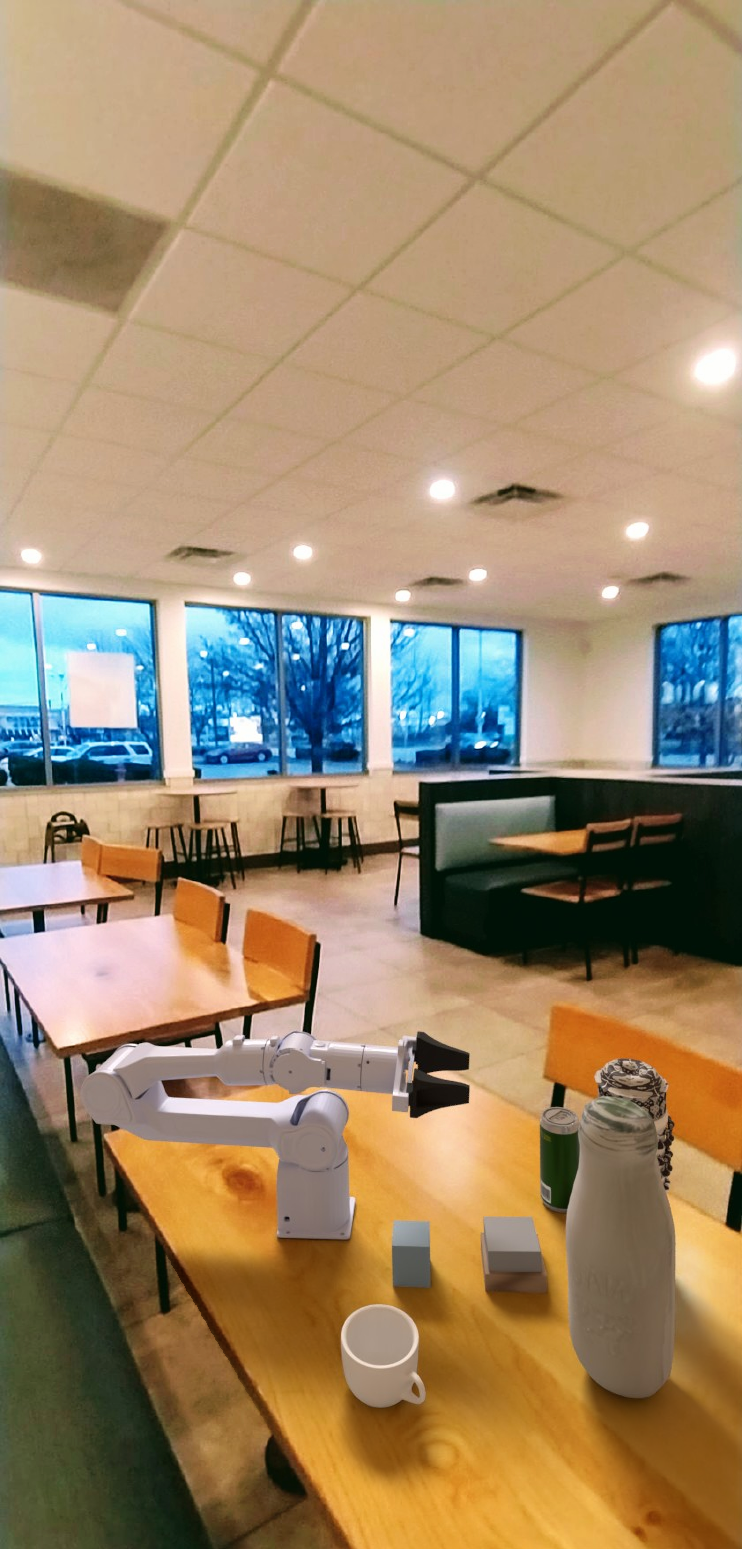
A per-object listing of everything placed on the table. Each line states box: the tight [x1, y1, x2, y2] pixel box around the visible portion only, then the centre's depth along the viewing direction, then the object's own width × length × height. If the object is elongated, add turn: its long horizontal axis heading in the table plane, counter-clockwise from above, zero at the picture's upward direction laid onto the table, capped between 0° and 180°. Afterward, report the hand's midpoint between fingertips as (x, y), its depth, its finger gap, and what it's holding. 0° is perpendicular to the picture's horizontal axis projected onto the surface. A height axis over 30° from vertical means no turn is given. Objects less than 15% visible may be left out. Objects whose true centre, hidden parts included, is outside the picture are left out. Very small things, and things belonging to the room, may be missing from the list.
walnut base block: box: [480, 1232, 548, 1294], centre depth 88 cm, size 7×7×2 cm
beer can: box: [539, 1106, 580, 1214], centre depth 100 cm, size 5×5×12 cm
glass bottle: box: [565, 1096, 677, 1399], centre depth 72 cm, size 10×10×28 cm
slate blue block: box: [391, 1219, 431, 1288], centre depth 87 cm, size 4×4×5 cm
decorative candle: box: [593, 1058, 676, 1194], centre depth 86 cm, size 9×9×25 cm
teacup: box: [340, 1303, 427, 1409], centre depth 72 cm, size 10×8×5 cm
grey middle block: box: [482, 1216, 542, 1272], centre depth 87 cm, size 6×6×2 cm
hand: (469, 1077), depth 94 cm, fingers open, 7 cm apart
